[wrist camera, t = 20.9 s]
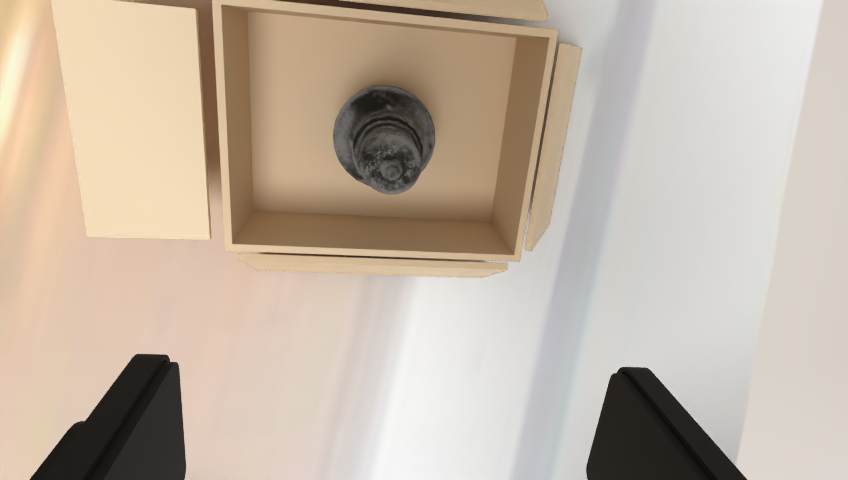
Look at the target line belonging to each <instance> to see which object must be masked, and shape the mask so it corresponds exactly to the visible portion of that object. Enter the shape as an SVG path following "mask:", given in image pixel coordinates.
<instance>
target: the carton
mask: <svg viewBox="0 0 848 480" xmlns="http://www.w3.org/2000/svg"><path fill="white" fill-rule="evenodd" d="M341 1H351V2H360V3H370V4H379V5H389V6H398V7H408V8H417V9H427V10H436V11H446V12H455V13H465V14H475V15H484V16H494V17H503V18H513V19H522V20H532V21H541V22H546V19H547V16H548V13H547V10H546V8H545V6H544V3H543V1H542V0H341ZM212 12H213V32H214V51H215V70H216V89H217V109H218V128H219V147H220V166H221V186H222V205H223V224H224V243H225V251H250V252H276V253H303V254H330V255H357V256H383V257H410V258H437V259H463V260H490V261H517V262H520V257H521V251H522V245H523V239H524V233H525V228H526V222H527V216H528V210H529V204H530V198H531V192H532V186H533V180H534V174H535V168H536V162H537V156H538V150H539V144H540V138H541V132H542V126H543V120H544V115H545V109H546V103H547V97H548V91H549V85H550V79H551V73H552V67H553V61H554V55H555V49H556V43H557V37H558V31H559V30H555V29H546V28H536V27H526V26H517V25H507V24H497V23H488V22H478V21H468V20H458V19H449V18H439V17H429V16H420V15H410V14H400V13H391V12H381V11H371V10H362V9H352V8H342V7H333V6H323V5H313V4H304V3H294V2H284V1H274V0H212ZM581 52H582V48H581V47H578V46H574V45H570V44H565V43H560V44H559V50H558V55H557V61H556V67H555V73H554V79H553V85H552V91H551V97H550V102H549V108H548V114H547V120H546V126H545V132H544V138H543V144H542V150H541V155H540V161H539V167H538V173H537V179H536V185H535V191H534V197H533V202H532V208H531V214H530V220H529V226H528V232H527V238H526V244H525V249H524V250H528V251H532V249H533V248H534V246H535V245H536V243H537V242H538V240H539V239H540V237H541V236H542V235H543V233H544V232H545V230H546V229H547V227H548V226H549V224H550V219H551V214H552V208H553V203H554V197H555V192H556V187H557V181H558V176H559V170H560V165H561V160H562V154H563V149H564V143H565V138H566V133H567V127H568V122H569V116H570V111H571V106H572V100H573V95H574V89H575V84H576V79H577V73H578V68H579V62H580V57H581ZM385 85H389V86H393V87H398V88H402V89H404V90H406V91H408V92H409V93H411V94H413V95H415V96H416V97H417V98H418V99H419V100H420V101H421V102H422V103H423V104H424V105H425V107H426V109H427V110H428V112H429V114H430V115H431V117H432V121H433V124H434V128H435V146H434V150H433V155H432V157H431V159H430V161H429V163H428V164H427V166H426V168H425V169H424V170H423V171H422V172H421V173H420V176H419V178H418V179H417V181H416V183H415V184H414V185H413V186H412V187H411V188H410V189H408V190H407V191H405V192H403V193H400V194H395V195H388V194H383V193H380V192H378V191H376V190H374V189H373V188H371V187H370V186H368V185H366V184H364V183H361V182H359V181H357V180H356V179H355V178H353V177H352V176H351V175H350V174H349V173H347V172H346V170H345V169H344V168H343V166H342V165H341V163H340V162H339V160H338V157H337V155H336V152H335V149H334V143H333V130H334V124H335V120H336V118H337V116H338V114H339V111H340V109H341V108H342V107H343V105H344V104H345V103H346V102H347V101H348V100H349V98H350V97H352V96H353V95H355V94H357V93H358V92H360V91H361V90H364V89H367V88H370V87H373V86H385ZM238 261H240V262H241V263H243V264H245V265H247V266H249V267H251V268H253V269H254V270H256V271H281V272H312V273H343V274H374V275H404V276H435V277H466V278H484V277H487V276H490V275H493V274H496V273H499V272H502V271H505V270H507V263H486V262H458V261H431V260H404V259H377V258H350V257H323V256H296V255H268V254H241V253H238Z"/></svg>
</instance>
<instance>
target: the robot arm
mask: <svg viewBox="0 0 848 480" xmlns="http://www.w3.org/2000/svg"><path fill="white" fill-rule="evenodd" d="M586 472H587V478H588V480H747V479H746V478H745V477H744V476H743V474H742V473H741V472H740V471H739V470H738V469H737V468H736V466H735V465H734V464H733V463H732V462H731V461H730V460H729V459H728V457H727V456H726V455H725V454H724V453H723V452H722V451H721V449H720V448H719V447H718V446H717V445H716V444H715V443H714V442H713V440H712V439H711V438H710V437H709V436H708V435H707V434H706V433H705V431H704V430H703V429H702V428H701V427H700V426H699V425H698V423H697V422H696V421H695V420H694V419H693V418H692V417H691V416H690V414H689V413H688V412H687V411H686V410H685V409H684V408H683V406H682V405H681V404H680V403H679V402H678V401H677V400H676V399H675V397H674V396H673V395H672V394H671V393H670V392H669V391H668V390H667V388H666V387H665V386H664V385H663V384H662V383H661V382H660V380H659V379H658V378H657V377H656V376H655V375H654V374H653V373H652V371H651V370H649V369H648V368H640V367H622V368H620V369H619V370H618V372H617V373H614V374H612V376H611V378H610V380H609V384H608V388H607V392H606V395H605V399H604V403H603V407H602V410H601V414H600V418H599V422H598V425H597V429H596V433H595V436H594V440H593V444H592V448H591V451H590V455H589V459H588V463H587V468H586ZM185 473H186V460H185V445H184V431H183V417H182V403H181V388H180V374H179V365H178V363H177V362H170V359H169V357H168V356H167V355H157V354H136V355H135V356H134V357H133V358H132V359H131V361H130V362H129V363H128V365H127V366H126V367H125V369H124V370H123V371H122V373H121V374H120V375H119V377H118V378H117V379H116V381H115V382H114V383H113V385H112V386H111V387H110V389H109V390H108V391H107V393H106V394H105V395H104V397H103V398H102V399H101V401H100V402H99V403H98V405H97V406H96V407H95V409H94V410H93V411H92V413H91V414H90V415H89V417H88V418H87V419H86V421H80V422H77V423H75V424H74V425H73V426H72V427H71V428H70V429H69V430H68V431H67V432H66V433H65V435H64V436H63V437H62V439H61V440H60V441H59V443H58V444H57V445H56V446H55V448H54V449H53V450H52V452H51V453H50V454H49V455H48V457H47V458H46V459H45V461H44V462H43V463H42V464H41V466H40V467H39V468H38V470H37V471H36V472H35V474H34V475H33V476H32V477H31V479H30V480H184V478H185Z"/></svg>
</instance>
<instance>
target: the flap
mask: <svg viewBox="0 0 848 480" xmlns="http://www.w3.org/2000/svg"><path fill="white" fill-rule="evenodd" d="M51 4H52V10H53V17H54V23H55V30H56V36H57V43H58V50H59V56H60V63H61V69H62V76H63V82H64V89H65V95H66V102H67V109H68V115H69V122H70V128H71V135H72V141H73V148H74V154H75V161H76V168H77V174H78V181H79V187H80V194H81V200H82V207H83V213H84V220H85V227H86V233H87V237H121V238H164V239H206V240H210V239H211V220H210V204H209V188H208V171H207V155H206V139H205V122H204V106H203V90H202V73H201V57H200V41H199V24H198V9H193V8H183V7H173V6H163V5H153V4H143V3H133V2H123V1H113V0H51Z"/></svg>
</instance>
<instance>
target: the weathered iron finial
mask: <svg viewBox="0 0 848 480" xmlns="http://www.w3.org/2000/svg"><path fill="white" fill-rule="evenodd" d="M333 143H334V149H335V152H336V155H337V157H338V160H339V162H340V163H341V165H342V166H343V168H344V169H345V170H346V172H347V173H349V174H350V175H351V176H352V177H353V178H355V179H356V180H357V181H359V182H361V183H364V184H366V185H368V186H370V187H371V188H373V189H374V190H376V191H378V192H380V193H383V194H388V195H395V194H400V193H403V192H405V191H407V190H408V189H410V188H411V187H412V186H413V185H414V184H415V183H416V181H417V179H418V178H419V176H420V173H421V172H422V171H423V170H424V169H425V168H426V166H427V164H428V163H429V161H430V159H431V157H432V155H433V150H434V146H435V128H434V124H433V121H432V117H431V115H430V114H429V112H428V110H427V109H426V107H425V105H424V104H423V103H422V102H421V101H420V100H419V99H418V98H417V97H416V96H415V95H413V94H411V93H409V92H408V91H406V90H404V89H402V88H398V87H393V86H389V85H385V86H373V87H370V88H367V89H364V90H361V91H360V92H358V93H357V94H355V95H353V96H352V97H350V98H349V100H348V101H347V102H346V103H345V104H344V105H343V107H342V108H341V109H340V111H339V114H338V116H337V118H336V120H335V124H334V130H333Z"/></svg>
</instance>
